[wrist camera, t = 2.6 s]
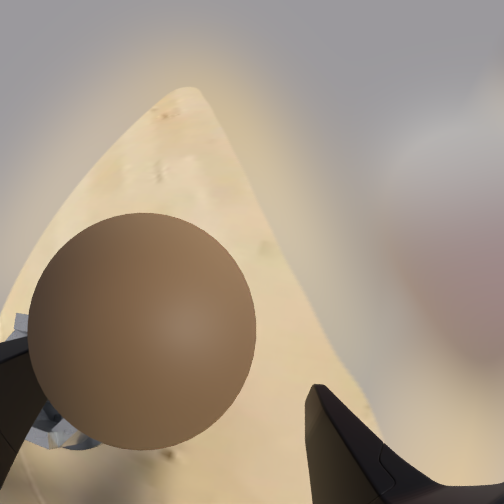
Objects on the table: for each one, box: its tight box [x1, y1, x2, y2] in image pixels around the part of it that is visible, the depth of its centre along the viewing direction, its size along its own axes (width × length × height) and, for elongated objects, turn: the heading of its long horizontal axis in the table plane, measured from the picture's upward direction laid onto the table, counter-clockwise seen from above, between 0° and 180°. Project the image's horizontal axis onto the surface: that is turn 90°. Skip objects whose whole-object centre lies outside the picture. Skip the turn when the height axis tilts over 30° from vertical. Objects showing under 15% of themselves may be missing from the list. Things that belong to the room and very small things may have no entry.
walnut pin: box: [27, 213, 256, 450], centre depth 9 cm, size 4×4×14 cm
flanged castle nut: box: [6, 313, 103, 450], centre depth 11 cm, size 9×9×5 cm
